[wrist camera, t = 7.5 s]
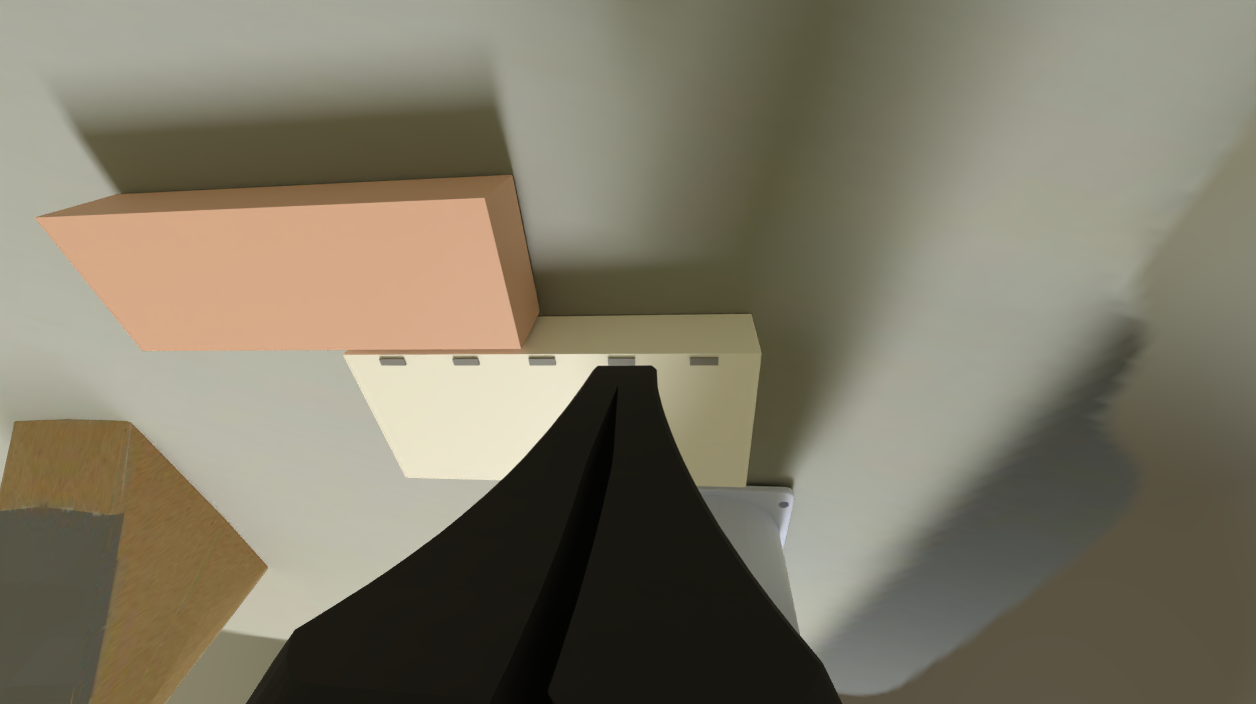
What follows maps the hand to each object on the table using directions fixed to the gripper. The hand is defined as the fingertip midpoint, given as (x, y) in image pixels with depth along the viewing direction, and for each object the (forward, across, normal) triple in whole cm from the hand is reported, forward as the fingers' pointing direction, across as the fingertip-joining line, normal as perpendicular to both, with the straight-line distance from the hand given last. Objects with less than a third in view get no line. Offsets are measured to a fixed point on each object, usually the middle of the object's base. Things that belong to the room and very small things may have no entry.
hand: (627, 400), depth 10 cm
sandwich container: (+9, +34, +16) cm, 39 cm away
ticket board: (+8, +4, +6) cm, 11 cm away
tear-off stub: (+8, +13, 0) cm, 15 cm away
